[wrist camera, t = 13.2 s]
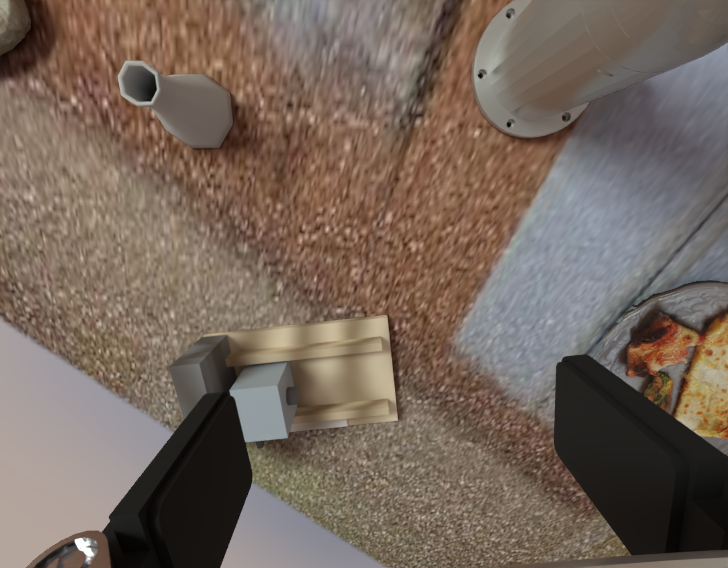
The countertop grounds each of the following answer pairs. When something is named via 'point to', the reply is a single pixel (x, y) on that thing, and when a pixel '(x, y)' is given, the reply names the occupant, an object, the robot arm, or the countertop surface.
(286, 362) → the grey cube with peg
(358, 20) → the countertop surface
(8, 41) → the long grey stone
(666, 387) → the food plate
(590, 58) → the robot arm
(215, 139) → the flask
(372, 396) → the board
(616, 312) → the countertop surface
